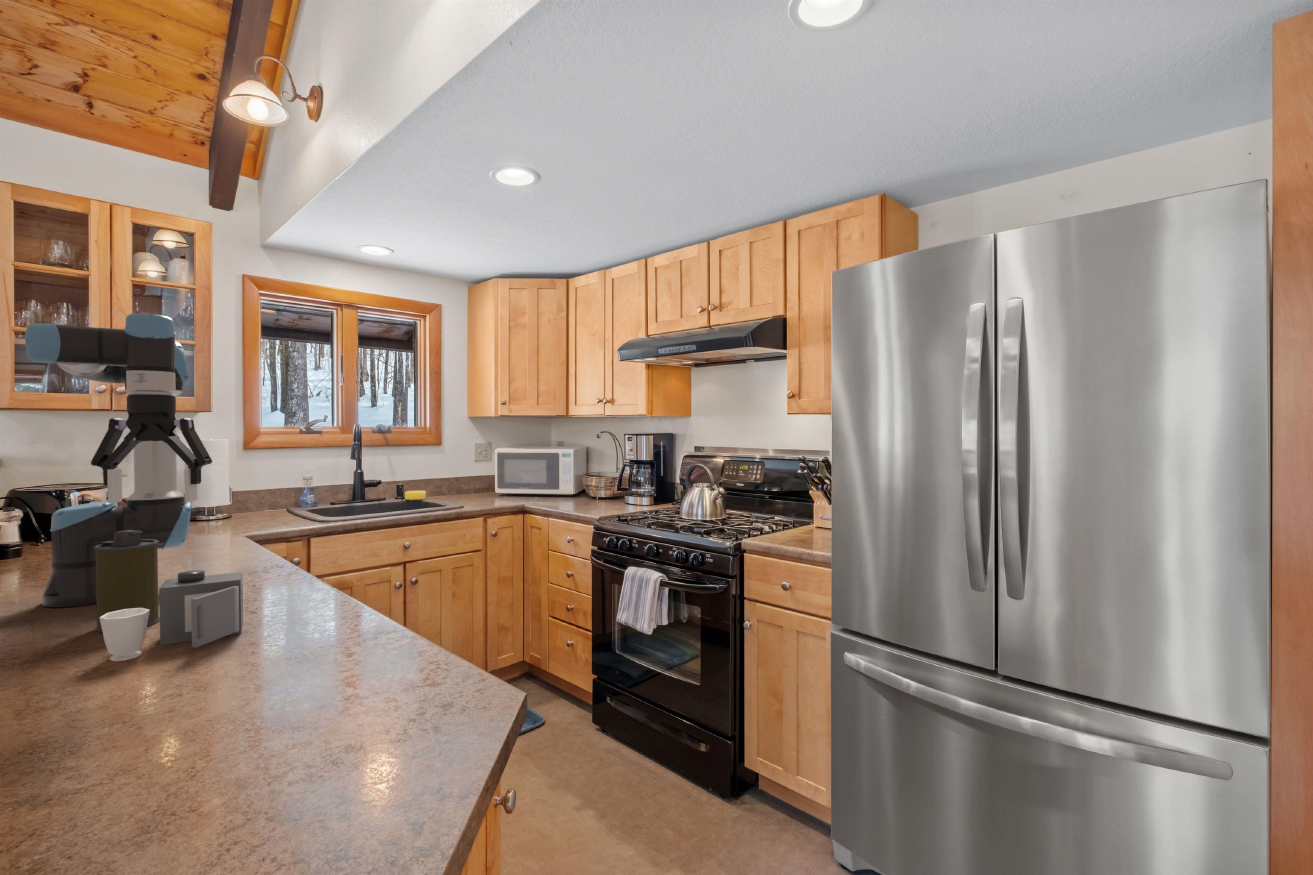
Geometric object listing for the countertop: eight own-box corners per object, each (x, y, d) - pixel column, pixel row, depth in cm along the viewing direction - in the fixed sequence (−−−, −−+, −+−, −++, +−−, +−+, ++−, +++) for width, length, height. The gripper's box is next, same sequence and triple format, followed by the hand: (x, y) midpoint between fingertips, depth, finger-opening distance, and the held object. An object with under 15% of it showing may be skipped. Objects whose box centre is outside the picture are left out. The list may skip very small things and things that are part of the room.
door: (190, 646, 116) (190, 599, 116) (234, 629, 126) (234, 585, 125) (198, 647, 116) (197, 599, 115) (241, 630, 125) (240, 585, 125)
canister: (172, 617, 137) (171, 527, 137) (127, 633, 127) (126, 535, 126) (127, 616, 138) (126, 526, 138) (79, 631, 128) (77, 534, 127)
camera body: (166, 633, 127) (165, 572, 126) (243, 622, 133) (242, 564, 133) (159, 645, 119) (158, 581, 119) (241, 634, 126) (240, 572, 126)
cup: (100, 667, 109) (99, 621, 109) (100, 651, 116) (99, 608, 116) (151, 657, 114) (150, 613, 113) (148, 643, 121) (147, 601, 121)
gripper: (65, 392, 117) (67, 505, 117) (209, 393, 120) (211, 502, 121) (95, 394, 124) (97, 500, 125) (230, 395, 128) (232, 498, 128)
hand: (153, 501), depth 123 cm, fingers open, 13 cm apart
